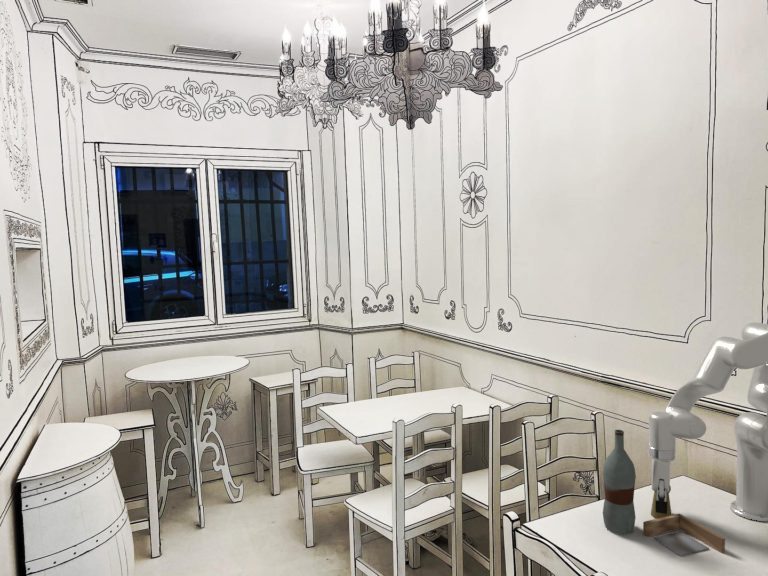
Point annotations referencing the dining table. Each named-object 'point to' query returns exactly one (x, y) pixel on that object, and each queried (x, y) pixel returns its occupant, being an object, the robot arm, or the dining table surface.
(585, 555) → the dining table surface
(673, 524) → the corner arena
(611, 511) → the bottle
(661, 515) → the cork
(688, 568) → the dining table surface
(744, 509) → the robot arm
